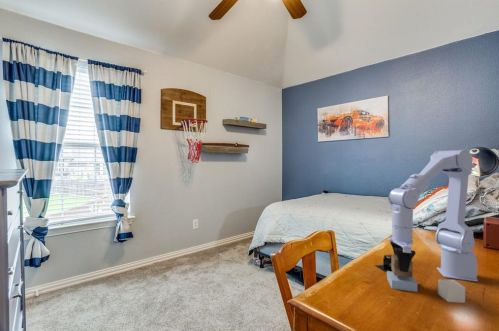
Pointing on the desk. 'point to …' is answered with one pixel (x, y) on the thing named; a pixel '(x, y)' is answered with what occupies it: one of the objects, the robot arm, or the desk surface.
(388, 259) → the black rectangular box
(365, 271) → the desk surface
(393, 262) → the walnut cube
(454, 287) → the cream cube
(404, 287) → the blue slab
